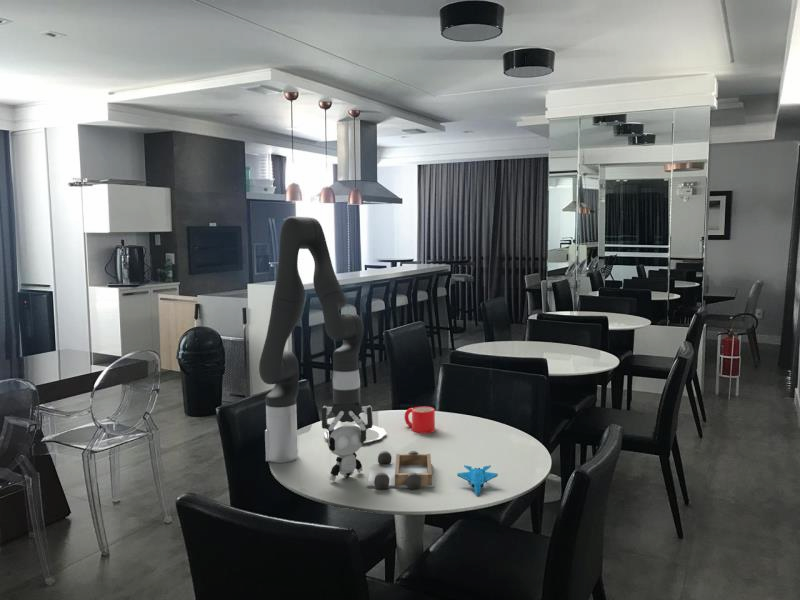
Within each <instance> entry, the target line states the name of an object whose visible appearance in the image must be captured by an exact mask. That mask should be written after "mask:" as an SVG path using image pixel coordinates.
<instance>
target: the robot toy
mask: <svg viewBox="0 0 800 600" xmlns="http://www.w3.org/2000/svg"><path fill="white" fill-rule="evenodd" d="M340 426H341V427H339V426H337V427H338V428H337V429H335V430H334V431H333V432H332V433H331V435H330V438H328V432H327V431H328V430H326V431H325V432H326V434H327V439H326V440H327V446H328V449H329V451H330V452H331V454H333V455H336V456H337V457H336V460H335V461H336V463H335V464H334V465H333V466H332V467H331V471H330V476H329V477H330V478H329V480H330V481H333V482H335V481H336V479H337V477H338V476H339V474H340V475H342V476H343V477H344V478H349V477H350V476H352V475H353V474H354V472H355V470H356V472H357V473H359V474H360V473H361V472H362V471H363V464H362V463H361V461H360V460H359V459H358V458H357V456H358V455H357V453H356V452H358V451H359V450H361V449H360V448H361V447H362V446H363V444H362V443H361V428H360V427H358V426H355V424H343V425H340Z"/></svg>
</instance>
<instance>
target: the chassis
mask: <svg viewBox="0 0 800 600" xmlns="http://www.w3.org/2000/svg"><path fill="white" fill-rule="evenodd" d="M392 458H393V457H392V454H391V452H389V451H387V450H383V451H380V452H379V453H378V456H377V462H378V463H371V464H370V470H369V473H368V474H369V475H368V480H367V485H366V486H367V487H366V488H370V489H374V488H376V489H377V490H380V491H382V490H386V489H387V488H388V489H389V488H391V489H393V488H395V489H396V488H400V489H401V488H402V489H403V488H405V489H406V488H408V489H409V490H412V491H415V490H417V489H419V488H422V489H423V488H427V489H428V488H435V482H434V469H433V463H432V460H431V458H432V457H431V453H419V452H418V451H416V450H411V451H409V452H408V453H396V456H395V463H392Z"/></svg>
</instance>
